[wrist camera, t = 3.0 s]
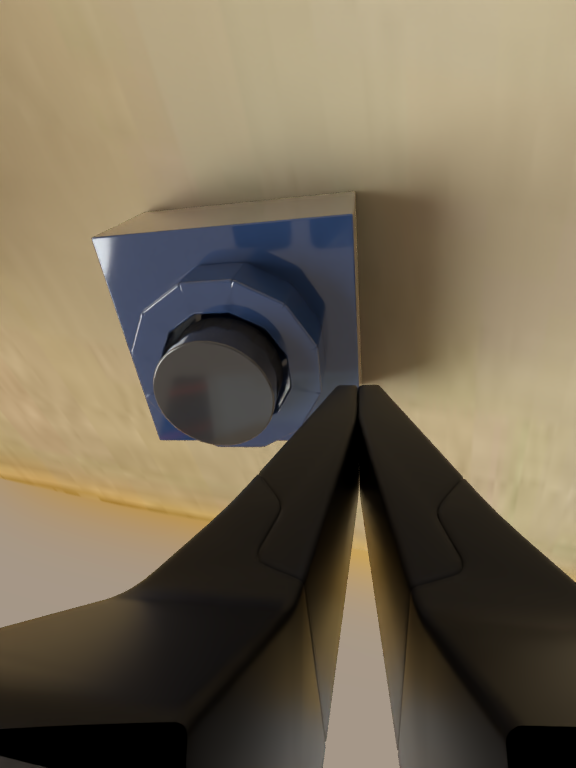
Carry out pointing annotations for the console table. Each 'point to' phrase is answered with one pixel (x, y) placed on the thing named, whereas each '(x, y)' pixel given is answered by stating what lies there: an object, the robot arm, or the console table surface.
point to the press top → (219, 381)
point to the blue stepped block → (244, 291)
